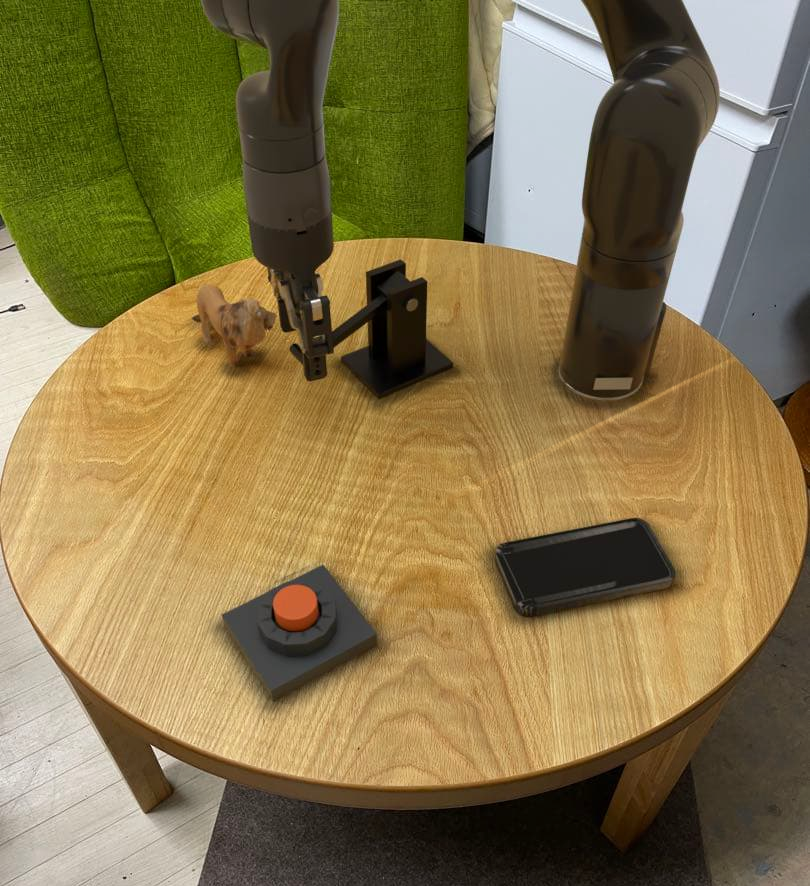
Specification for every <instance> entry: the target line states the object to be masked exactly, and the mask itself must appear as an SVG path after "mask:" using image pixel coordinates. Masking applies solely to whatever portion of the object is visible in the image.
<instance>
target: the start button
mask: <svg viewBox="0 0 810 886" xmlns="http://www.w3.org/2000/svg"><path fill="white" fill-rule="evenodd" d="M273 608H274V613H275V618H276V621H277V623H278V624H279V625H280V626H281V627H282V628H283V629H285V630H288V631H293V632H297V631H303V630H306V629H308V628H309V627H311V626H312V625H313V624H314V623H315V622H316V620H317V618H318V614H319V611H318V603H317V597H316V594H315V593H314V592H313V591H312V590H311V589H310V588H308V587H306V586H303V585H290V586H287V587H285V588H283V589H281V590H280V591H279V592H278V593H277V594H276V596H275V598H274V600H273Z"/></svg>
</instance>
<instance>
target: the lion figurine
mask: <svg viewBox="0 0 810 886" xmlns="http://www.w3.org/2000/svg"><path fill="white" fill-rule="evenodd" d="M196 299H197V300H196V307H197V312H198V314H196V315H194V316H192V317H191V320H193V321H194V322H199V321H200V323H201V333H202V342H203V343H205V344H207V343H210V342H212V339H211V336H210V333H209V331H210V329H209V324H208V323H209V321H210V323H211V325H212V327H213V328H214V330H215V331H216V332H217V333H218V334H219V335H220V336H221V339H222V342H223V345H224V349H225V352H226V356H227V358H228V362H229V365H230V366H231V367H232V368H234V367H237V366H238V365H240V361H239V359H238V357H237V350H240V351H243V355H244V357H255V353H254V352H253V351H252V349H253V348H255V347H256V346H257V345H259V344H261V343H262V342H264V340H265V339H266V337H267V336H266V331H272V330H273V329H274V325H275V324H276V319H277V313H276V312H272V311H269V310H267V309H266V308H265V307H264V306H260V301H259V300H258V299H255V298H254V297H251V298H249V299H246V298H243V299H241V300H240V301H236V302H233V303H229V302H228V301H227V300H226V299H225V296H224V293H223V290H222V289H221V288H220V287H219V286H217V285H215V284H204V285H203V286H202V287H201V288H200V289H199V290H198V292H197V298H196ZM236 349H237V350H236Z"/></svg>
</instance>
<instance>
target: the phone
mask: <svg viewBox="0 0 810 886" xmlns="http://www.w3.org/2000/svg"><path fill="white" fill-rule="evenodd" d="M494 562H495V564H496V567H497V570H498V572H499V575H500V577H501V579H502V582H503V583H504V586H505V589H506V592H507V594H508V596H509V599H510V601H511V604H512V606H513V609H514V610H515V612H516V613H517V614H518V615H521V616H523V617H527V618H528V617H534V616H539V615H545V614H550V613H554V612H559V611H564V610H568V609H573V608H578V607H584V606H588V605H592V604H597V603H603V602H607V601H612V600H616V599H617V600H618V599H622V598H626V597H631V596H637V595H641V594H646V593H651V592H655V591H661V590H666V589H668V588H670V587H671V586H672V585H673V583H674V581H675V577H676V573H677V572H676V569H675V567H674V565H673V564H672V562H671V560H670V558H669V556H668V555H667V553H666V551H665V550H664V548H663V546H662V545H661V543H660V541H659V540H658V537H657V536H656V534H655V532H654V531H653V529H652V528H651V525H650V524H649V523H648V521H646V520H645V519H643V518H640V517H631V518H625V519H620V520H615V521H610V522H604V523H599V524H595V525H588V526H584V527H578V528H574V529H569V530H563V531H558V532H552V533H548V534H543V535H542V534H541V535H537V536H532V537H531V536H530V537H527V538H522V539H516V540H511V541H505V542H502V543H500V544H499V545H498V546H497V547H496V549H495V554H494Z"/></svg>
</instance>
